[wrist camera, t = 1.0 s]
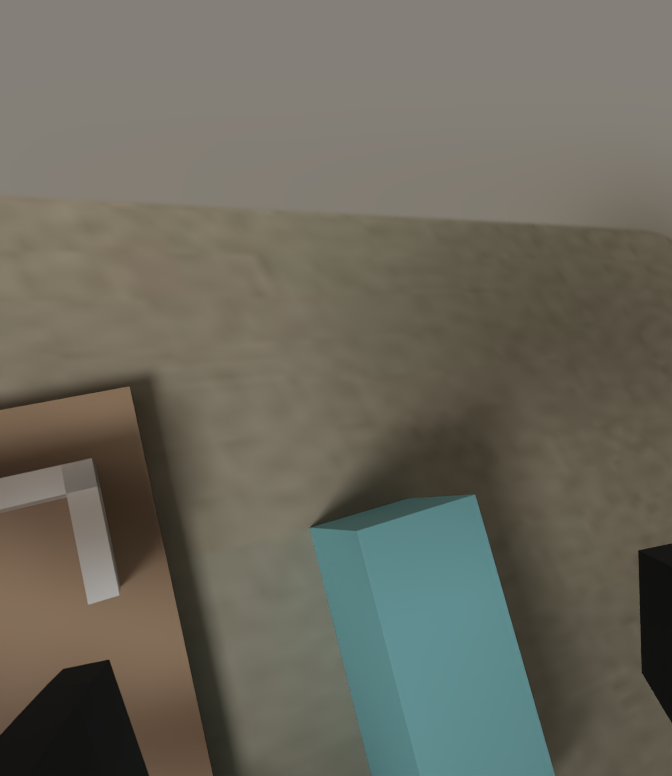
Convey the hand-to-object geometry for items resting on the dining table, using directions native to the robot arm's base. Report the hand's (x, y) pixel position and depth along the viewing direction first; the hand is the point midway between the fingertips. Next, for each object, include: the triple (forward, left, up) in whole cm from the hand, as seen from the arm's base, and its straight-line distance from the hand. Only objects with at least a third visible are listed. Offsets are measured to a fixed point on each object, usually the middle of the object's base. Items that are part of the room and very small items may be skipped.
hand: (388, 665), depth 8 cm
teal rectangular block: (-5, -5, -13) cm, 15 cm away
